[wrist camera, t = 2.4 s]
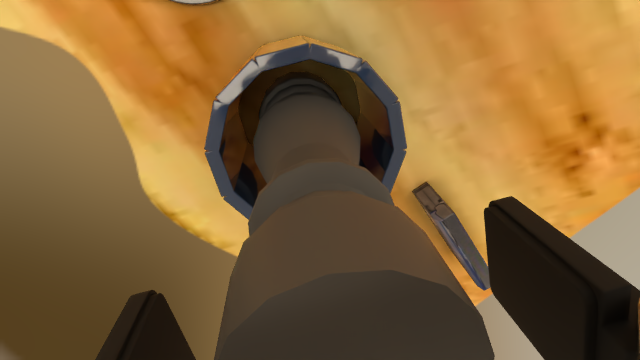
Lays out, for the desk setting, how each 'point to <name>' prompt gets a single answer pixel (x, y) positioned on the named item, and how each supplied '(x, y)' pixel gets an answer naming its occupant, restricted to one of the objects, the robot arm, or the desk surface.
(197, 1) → the coaster
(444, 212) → the mini dv tape
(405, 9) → the desk surface
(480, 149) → the desk surface
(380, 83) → the crock
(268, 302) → the candle holder
